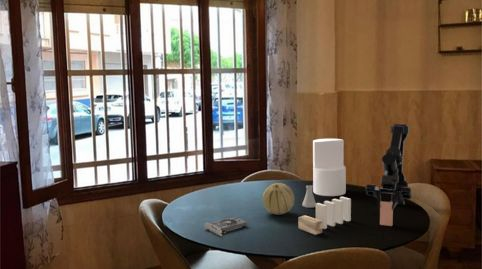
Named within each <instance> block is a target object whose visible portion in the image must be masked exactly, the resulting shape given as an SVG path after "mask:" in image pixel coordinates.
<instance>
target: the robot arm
mask: <svg viewBox="0 0 482 269" xmlns="http://www.w3.org/2000/svg"><path fill="white" fill-rule="evenodd" d="M389 133H390V134H391V140H390V145H389V148H387V149H386V151H385V154H384V155H383V156H382V158H381V162H382V167H383V171H384V174H383V175H381V176H380V177H381V178H380V183H381V184H380V186H381V187H379V186H376V184H373V183H372V184H371V183H367V184H366V185H365V193H366V196H371V197H374V198H376V200H377V205H378V208H379V209H380V202H381V201H382V196H381V194H391V200H389V202H393V204H392V210H393V211H394V209H395V208H396V207H397V206H406V203H405V200H404V199H406V200H411V199H412V194H413V193H412V188H411V187H410V186H409V183H408V182H407V180H406V178H407V177H406V175H405V174H404V171H403V169H404V167H403V166H404V154H405V152H404V151H405V142H406V141H407V139H408V138H409V135H410V125H409V126H408V124H407V123H394V124H393V125H390V132H389Z"/></svg>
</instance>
